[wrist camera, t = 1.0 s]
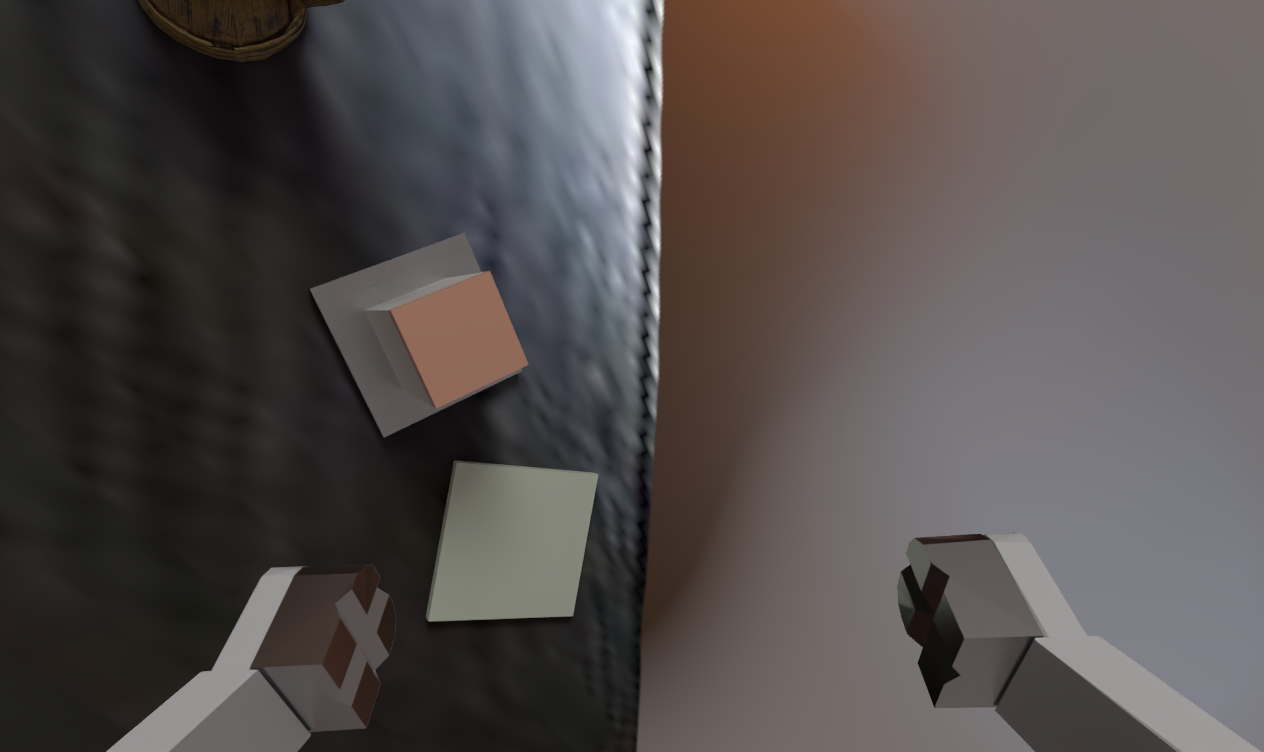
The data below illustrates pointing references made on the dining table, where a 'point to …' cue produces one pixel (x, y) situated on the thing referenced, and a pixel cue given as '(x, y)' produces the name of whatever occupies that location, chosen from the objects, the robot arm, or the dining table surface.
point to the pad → (511, 542)
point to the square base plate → (358, 339)
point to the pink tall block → (448, 338)
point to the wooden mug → (232, 25)
